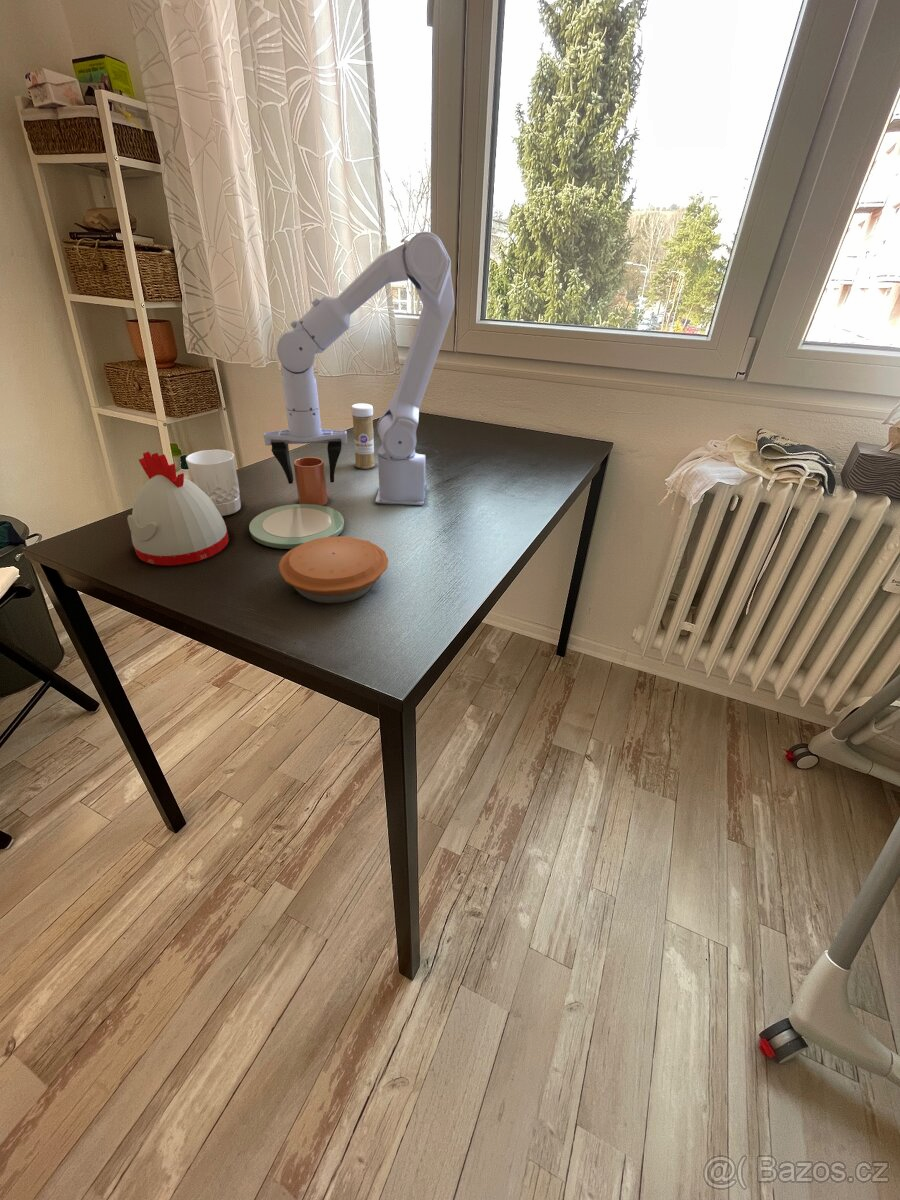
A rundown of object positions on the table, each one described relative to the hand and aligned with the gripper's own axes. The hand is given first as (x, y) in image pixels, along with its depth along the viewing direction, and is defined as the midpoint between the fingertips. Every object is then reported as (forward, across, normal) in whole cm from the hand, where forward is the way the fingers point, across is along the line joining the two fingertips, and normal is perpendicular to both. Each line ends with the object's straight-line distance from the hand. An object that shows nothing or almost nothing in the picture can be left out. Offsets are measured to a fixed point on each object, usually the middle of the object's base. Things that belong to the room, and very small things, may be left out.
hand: (311, 481), depth 97 cm
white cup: (+4, +17, +2) cm, 17 cm away
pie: (+4, -5, +30) cm, 31 cm away
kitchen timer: (+4, +20, +16) cm, 26 cm away
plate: (+4, +2, +12) cm, 13 cm away
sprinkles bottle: (+4, -10, -20) cm, 23 cm away
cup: (+4, 0, 0) cm, 4 cm away
